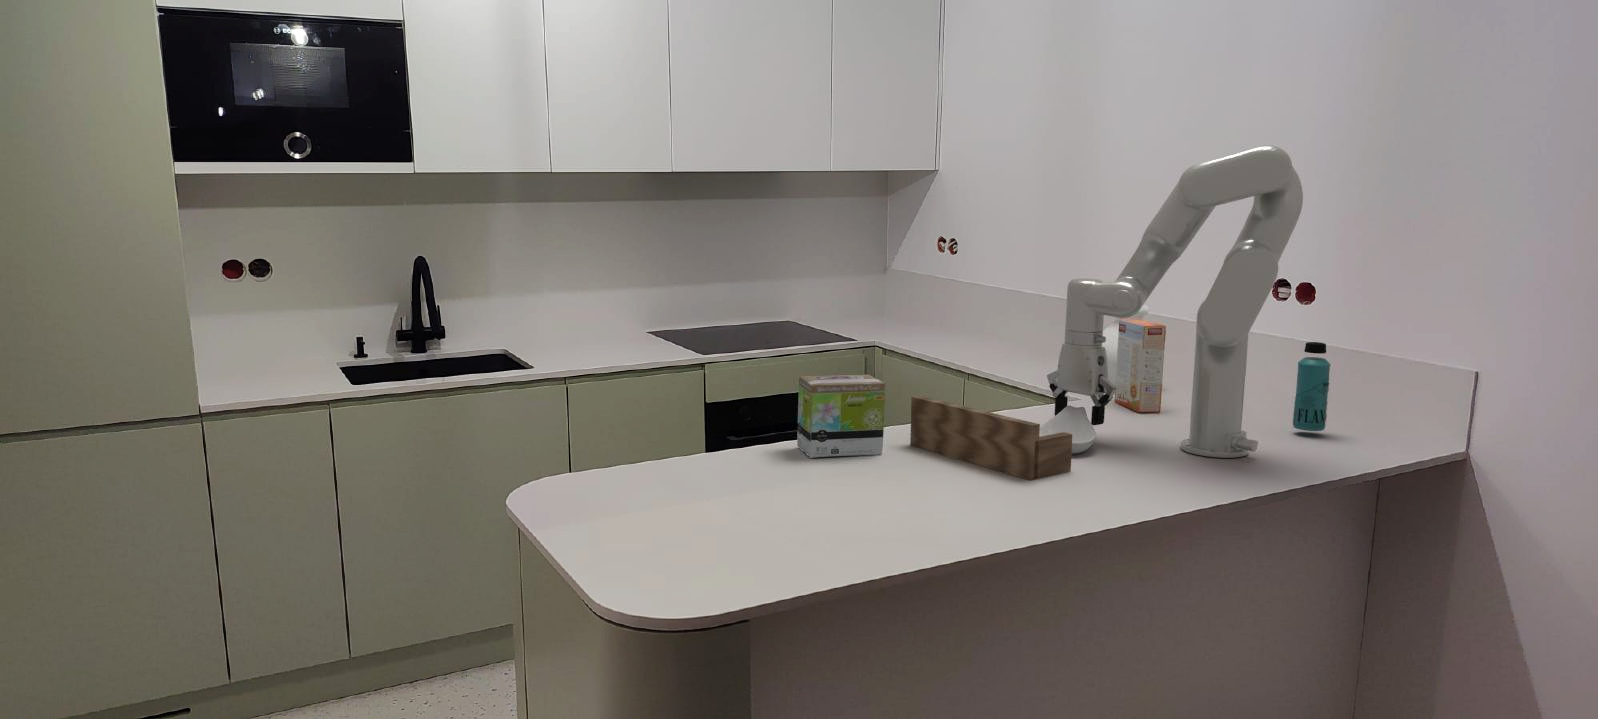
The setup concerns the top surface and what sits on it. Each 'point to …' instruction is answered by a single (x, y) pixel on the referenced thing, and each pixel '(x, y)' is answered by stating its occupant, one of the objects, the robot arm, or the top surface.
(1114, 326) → the decorative vase
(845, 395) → the tea box
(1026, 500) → the top surface
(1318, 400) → the beverage bottle
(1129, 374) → the cracker box
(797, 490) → the top surface
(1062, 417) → the spoon rest
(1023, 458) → the stand
